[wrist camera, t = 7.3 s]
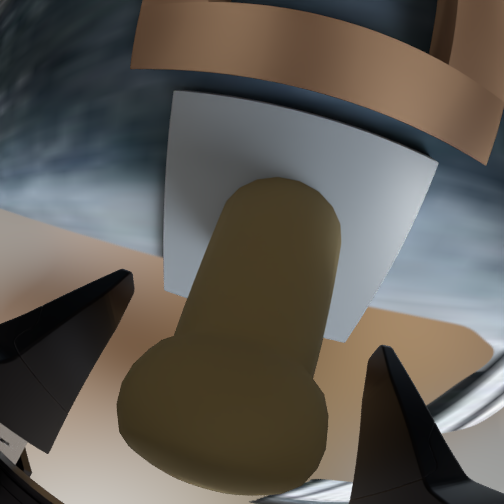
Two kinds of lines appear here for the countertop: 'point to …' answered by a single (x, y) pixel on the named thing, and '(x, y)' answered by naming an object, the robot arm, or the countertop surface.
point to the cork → (244, 351)
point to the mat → (295, 168)
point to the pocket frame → (345, 60)
